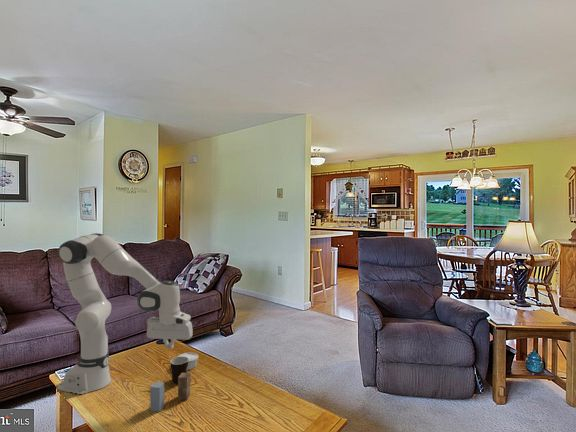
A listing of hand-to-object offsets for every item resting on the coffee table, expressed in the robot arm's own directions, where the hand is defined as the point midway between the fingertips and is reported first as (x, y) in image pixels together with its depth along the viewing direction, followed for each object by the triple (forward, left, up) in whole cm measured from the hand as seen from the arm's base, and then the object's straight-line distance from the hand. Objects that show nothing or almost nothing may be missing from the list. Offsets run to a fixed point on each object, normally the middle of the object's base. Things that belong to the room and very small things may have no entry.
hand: (169, 347), depth 145 cm
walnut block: (+7, 0, -22) cm, 23 cm away
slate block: (-1, -9, -22) cm, 24 cm away
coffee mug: (-1, +15, -22) cm, 27 cm away
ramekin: (-3, +28, -22) cm, 36 cm away
